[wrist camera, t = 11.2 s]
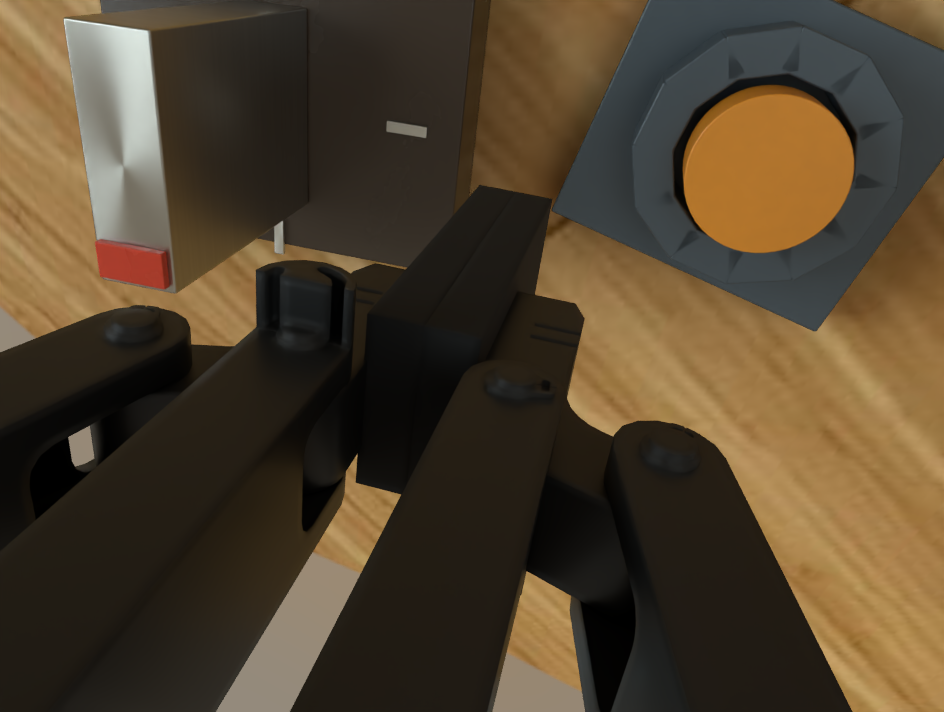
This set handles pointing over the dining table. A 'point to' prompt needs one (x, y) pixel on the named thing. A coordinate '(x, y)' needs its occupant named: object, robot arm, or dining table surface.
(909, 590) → the dining table surface
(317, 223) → the plate
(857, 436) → the dining table surface
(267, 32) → the silver rectangular block
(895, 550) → the dining table surface
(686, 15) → the grey button base
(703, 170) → the bell button
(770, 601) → the robot arm
